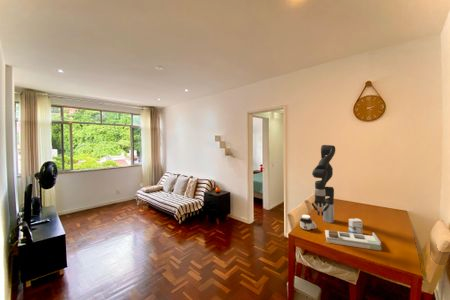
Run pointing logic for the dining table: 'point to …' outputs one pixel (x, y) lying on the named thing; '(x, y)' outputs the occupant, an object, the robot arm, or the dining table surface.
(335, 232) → the walnut block
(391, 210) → the dining table surface
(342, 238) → the two-hole white board
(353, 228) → the ink box
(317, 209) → the robot arm
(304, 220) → the spread jar
